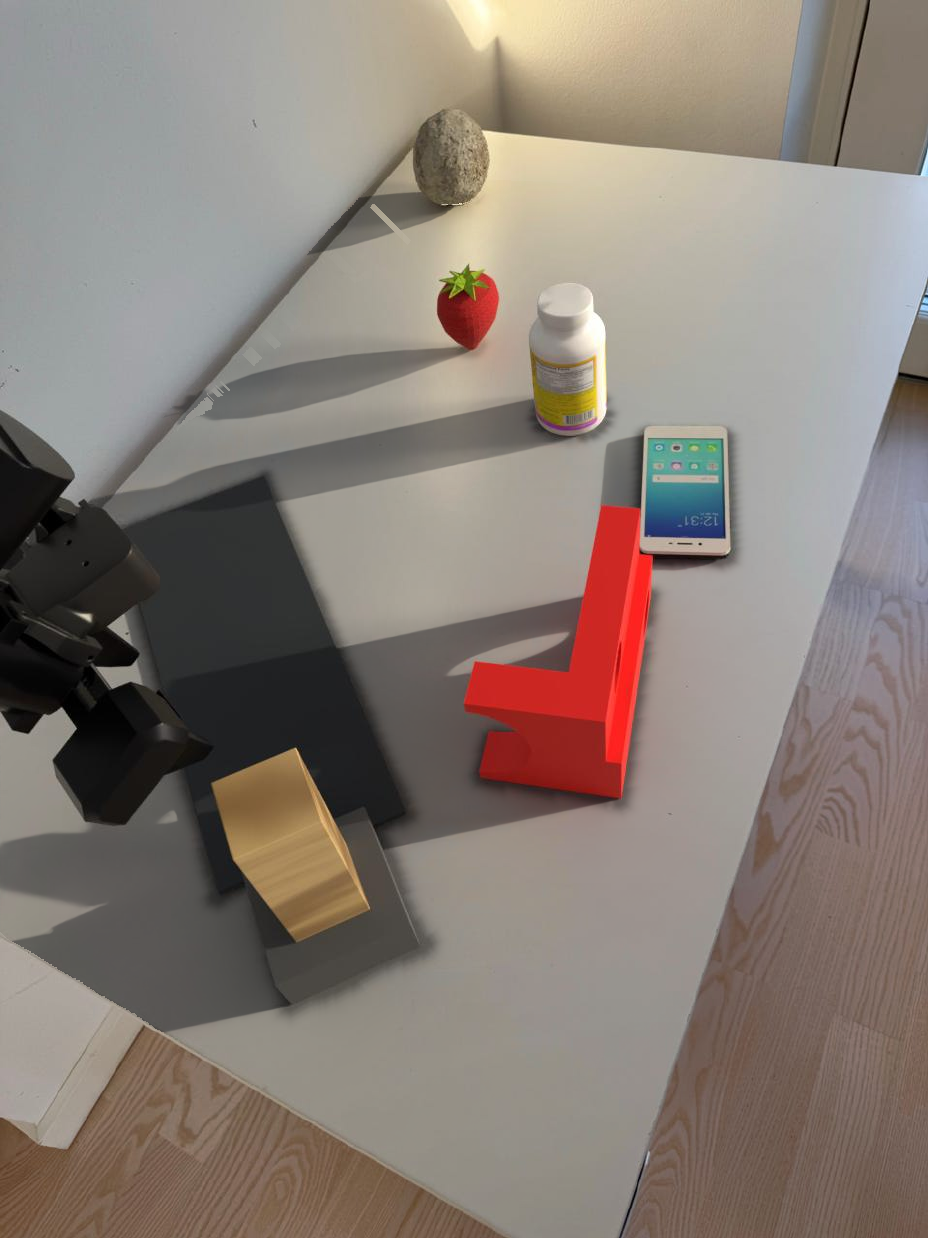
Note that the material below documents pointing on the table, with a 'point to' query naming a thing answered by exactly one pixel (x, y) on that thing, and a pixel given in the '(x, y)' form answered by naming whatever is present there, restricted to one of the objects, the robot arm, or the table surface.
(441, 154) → the decorative stone
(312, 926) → the maple block
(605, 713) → the bracket
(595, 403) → the supplement bottle
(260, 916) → the stand
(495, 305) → the strawberry
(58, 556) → the robot arm
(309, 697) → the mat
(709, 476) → the smartphone
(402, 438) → the table surface
